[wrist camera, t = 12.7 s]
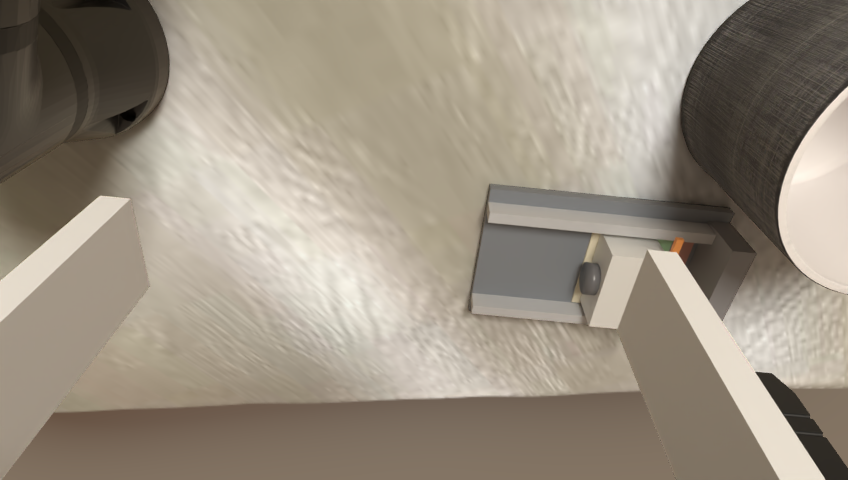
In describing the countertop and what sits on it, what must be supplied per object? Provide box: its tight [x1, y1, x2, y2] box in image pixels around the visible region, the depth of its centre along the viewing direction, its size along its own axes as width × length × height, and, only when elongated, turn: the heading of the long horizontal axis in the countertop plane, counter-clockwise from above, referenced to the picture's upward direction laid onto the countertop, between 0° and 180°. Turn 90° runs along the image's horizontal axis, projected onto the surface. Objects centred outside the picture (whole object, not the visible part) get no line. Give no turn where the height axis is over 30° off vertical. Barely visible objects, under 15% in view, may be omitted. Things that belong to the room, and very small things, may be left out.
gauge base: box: [469, 184, 757, 325], centre depth 50 cm, size 22×14×6 cm, turn 85°
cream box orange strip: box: [579, 234, 684, 329], centre depth 50 cm, size 6×13×5 cm, turn 175°
